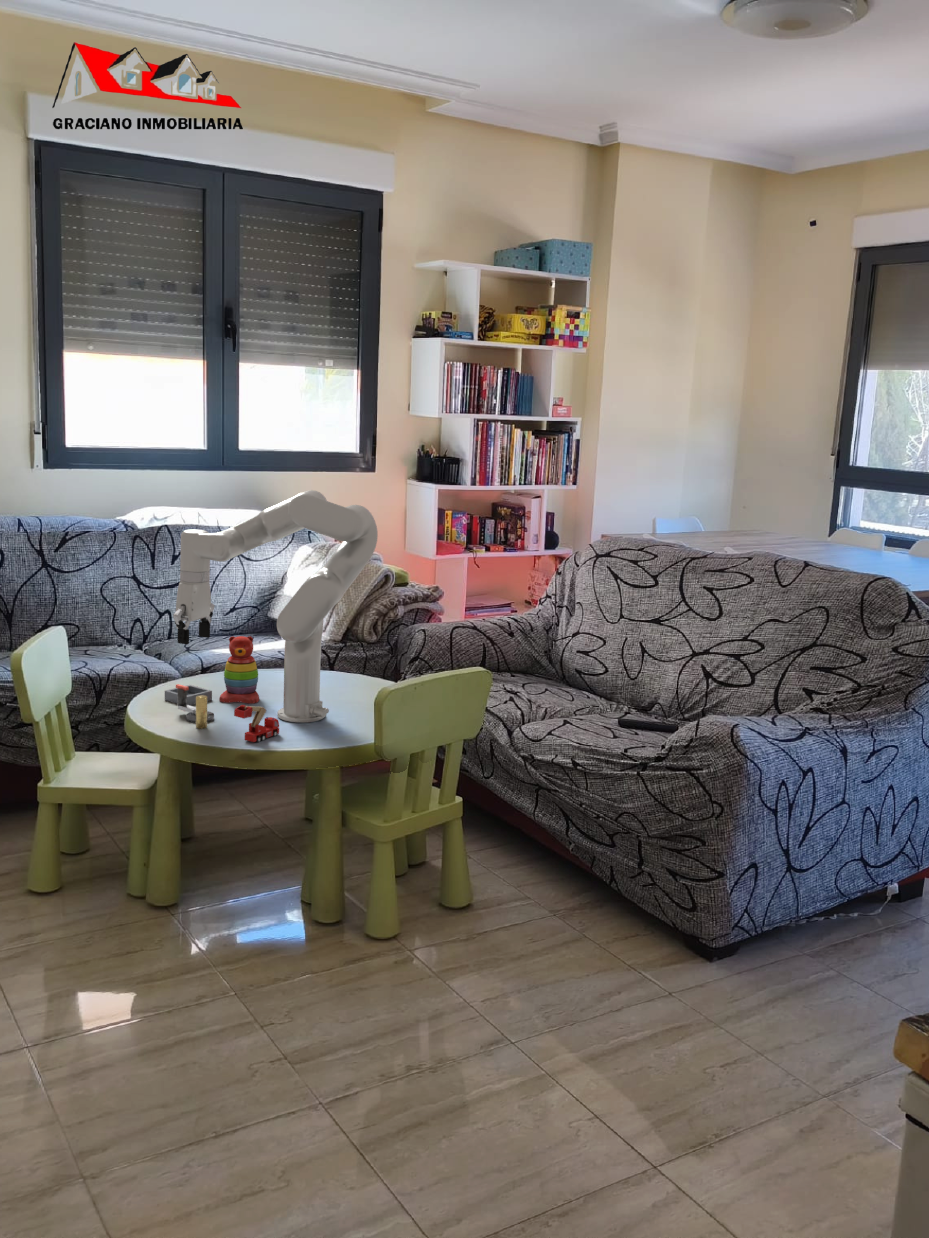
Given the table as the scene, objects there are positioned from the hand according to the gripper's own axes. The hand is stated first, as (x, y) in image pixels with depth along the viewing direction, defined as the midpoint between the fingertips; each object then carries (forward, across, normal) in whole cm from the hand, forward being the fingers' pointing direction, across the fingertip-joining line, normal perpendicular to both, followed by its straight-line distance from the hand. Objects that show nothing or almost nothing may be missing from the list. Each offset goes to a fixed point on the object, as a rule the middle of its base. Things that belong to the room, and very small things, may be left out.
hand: (193, 640), depth 290 cm
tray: (+19, -6, -6) cm, 21 cm away
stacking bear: (+19, -15, +6) cm, 25 cm away
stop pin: (+19, +13, +12) cm, 26 cm away
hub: (+19, +7, +7) cm, 21 cm away
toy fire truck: (+19, +15, +29) cm, 38 cm away
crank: (+17, +7, +4) cm, 19 cm away
